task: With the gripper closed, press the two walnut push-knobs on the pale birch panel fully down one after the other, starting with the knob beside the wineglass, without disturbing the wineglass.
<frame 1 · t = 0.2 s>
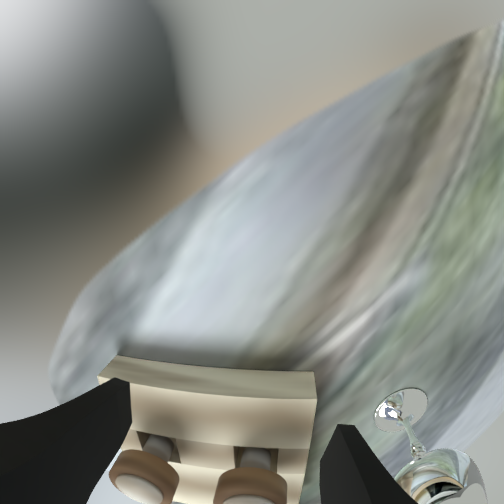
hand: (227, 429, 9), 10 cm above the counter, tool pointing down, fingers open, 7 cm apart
wineglass: (400, 409, 20), on the counter
knob panel: (214, 437, 22), on the counter
knob 1: (253, 481, 16), point 5 cm above the counter, slide at 0.0 cm
knob 2: (150, 465, 17), point 5 cm above the counter, slide at 0.0 cm
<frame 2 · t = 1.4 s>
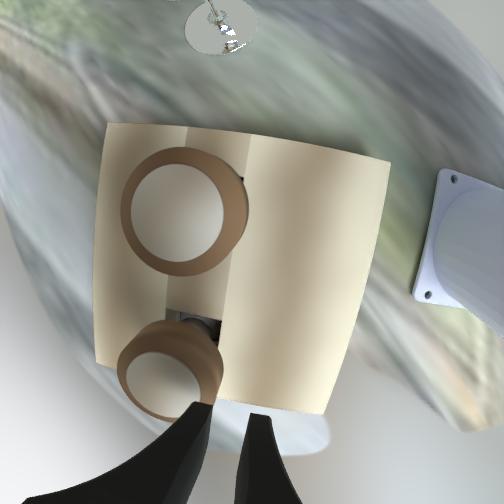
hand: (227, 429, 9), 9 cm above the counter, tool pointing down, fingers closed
wineglass: (221, 26, 15), on the counter
knob panel: (228, 265, 18), on the counter
knob 1: (195, 207, 12), point 5 cm above the counter, slide at 0.0 cm
knob 2: (179, 358, 14), point 5 cm above the counter, slide at 0.0 cm
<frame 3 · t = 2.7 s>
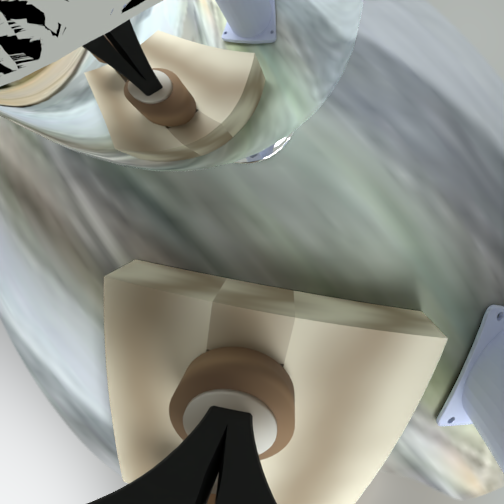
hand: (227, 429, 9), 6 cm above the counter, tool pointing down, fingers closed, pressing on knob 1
wineglass: (245, 114, 13), on the counter
knob panel: (255, 408, 16), on the counter
knob 1: (239, 388, 12), point 3 cm above the counter, slide at 1.9 cm, touching gripper
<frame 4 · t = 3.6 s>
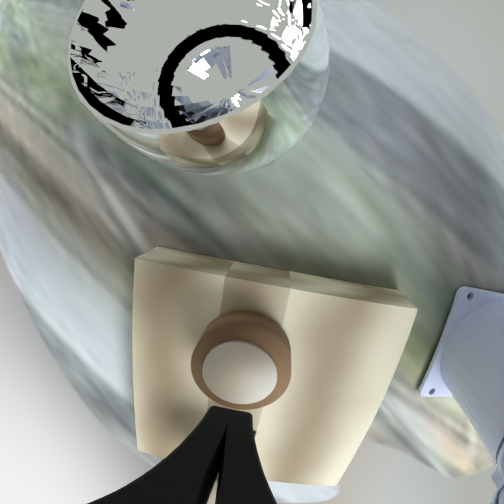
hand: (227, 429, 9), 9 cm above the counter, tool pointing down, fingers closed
wineglass: (250, 127, 16), on the counter
knob panel: (258, 375, 19), on the counter
knob 1: (245, 347, 15), point 3 cm above the counter, slide at 2.1 cm
knob 2: (222, 464, 15), point 5 cm above the counter, slide at 0.0 cm
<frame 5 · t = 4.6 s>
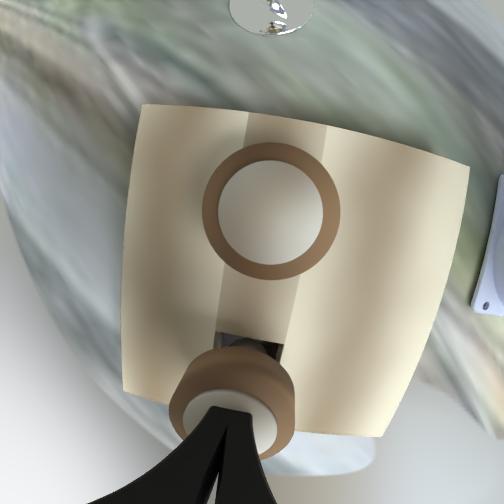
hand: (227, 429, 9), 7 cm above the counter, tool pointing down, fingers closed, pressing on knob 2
wineglass: (271, 5, 13), on the counter
knob panel: (282, 277, 16), on the counter
knob 1: (273, 207, 12), point 3 cm above the counter, slide at 2.1 cm
knob 2: (239, 387, 12), point 5 cm above the counter, slide at 0.3 cm, touching gripper
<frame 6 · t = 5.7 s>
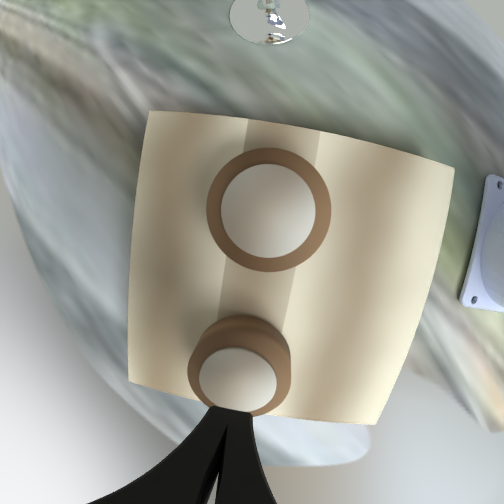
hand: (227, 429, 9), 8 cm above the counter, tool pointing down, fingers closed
wineglass: (269, 15, 14), on the counter
knob panel: (279, 272, 17), on the counter
knob 1: (270, 206, 13), point 3 cm above the counter, slide at 2.1 cm
knob 2: (244, 353, 15), point 3 cm above the counter, slide at 2.1 cm
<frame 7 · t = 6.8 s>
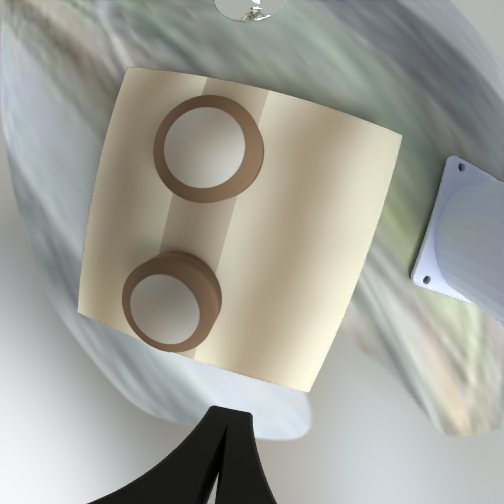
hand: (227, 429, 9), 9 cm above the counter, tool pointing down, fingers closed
knob panel: (227, 223, 18), on the counter
knob 1: (216, 153, 14), point 3 cm above the counter, slide at 2.1 cm
knob 2: (180, 292, 16), point 3 cm above the counter, slide at 2.1 cm
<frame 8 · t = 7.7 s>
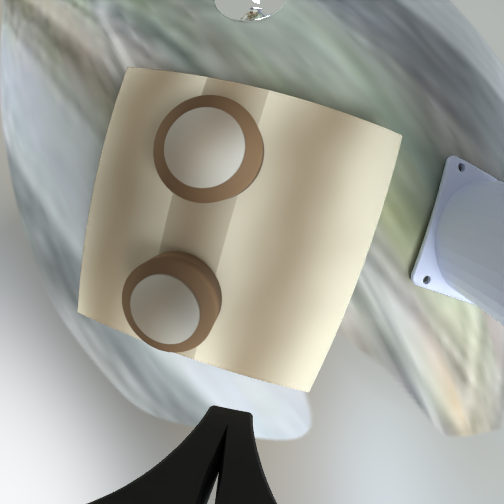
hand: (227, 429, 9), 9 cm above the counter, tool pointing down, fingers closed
knob panel: (227, 223, 18), on the counter
knob 1: (216, 153, 14), point 3 cm above the counter, slide at 2.1 cm
knob 2: (180, 292, 16), point 3 cm above the counter, slide at 2.1 cm
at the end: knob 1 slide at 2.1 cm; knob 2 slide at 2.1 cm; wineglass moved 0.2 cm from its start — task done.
